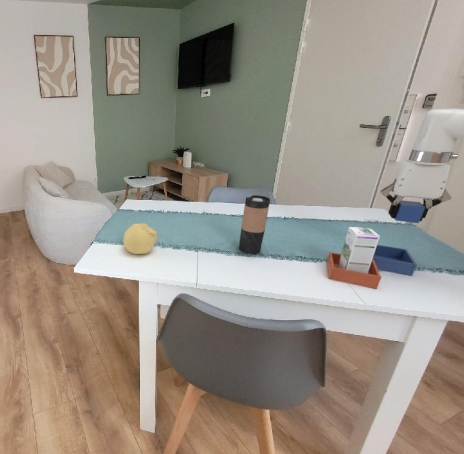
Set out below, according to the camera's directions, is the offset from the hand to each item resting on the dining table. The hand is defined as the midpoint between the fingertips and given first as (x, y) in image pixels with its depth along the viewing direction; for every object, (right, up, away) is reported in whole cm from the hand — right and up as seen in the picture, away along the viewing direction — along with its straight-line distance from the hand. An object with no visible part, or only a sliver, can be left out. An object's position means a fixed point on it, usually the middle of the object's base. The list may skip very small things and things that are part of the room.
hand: (405, 217), depth 87 cm
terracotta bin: (-14, -18, +3) cm, 23 cm away
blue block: (0, 0, 0) cm, 0 cm away
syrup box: (-14, -17, +3) cm, 22 cm away
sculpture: (-77, -12, +25) cm, 82 cm away
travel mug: (-36, -11, +21) cm, 44 cm away
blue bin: (+1, -15, +8) cm, 17 cm away
